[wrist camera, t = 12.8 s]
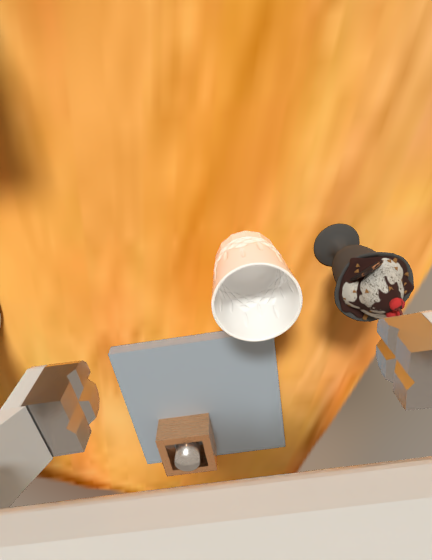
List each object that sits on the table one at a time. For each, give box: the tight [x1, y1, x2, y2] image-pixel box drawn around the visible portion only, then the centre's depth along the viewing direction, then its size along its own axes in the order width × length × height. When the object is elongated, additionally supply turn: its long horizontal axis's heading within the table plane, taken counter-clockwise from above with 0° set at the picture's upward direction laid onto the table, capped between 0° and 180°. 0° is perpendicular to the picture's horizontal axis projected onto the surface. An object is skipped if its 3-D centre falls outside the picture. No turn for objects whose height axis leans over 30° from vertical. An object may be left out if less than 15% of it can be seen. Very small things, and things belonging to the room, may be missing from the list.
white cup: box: [211, 231, 302, 342], centre depth 36 cm, size 8×8×10 cm
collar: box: [155, 413, 217, 476], centre depth 49 cm, size 7×7×4 cm
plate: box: [108, 331, 285, 464], centre depth 49 cm, size 20×20×2 cm
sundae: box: [314, 224, 414, 321], centre depth 33 cm, size 7×7×15 cm
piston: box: [174, 441, 200, 471], centre depth 48 cm, size 3×3×4 cm
